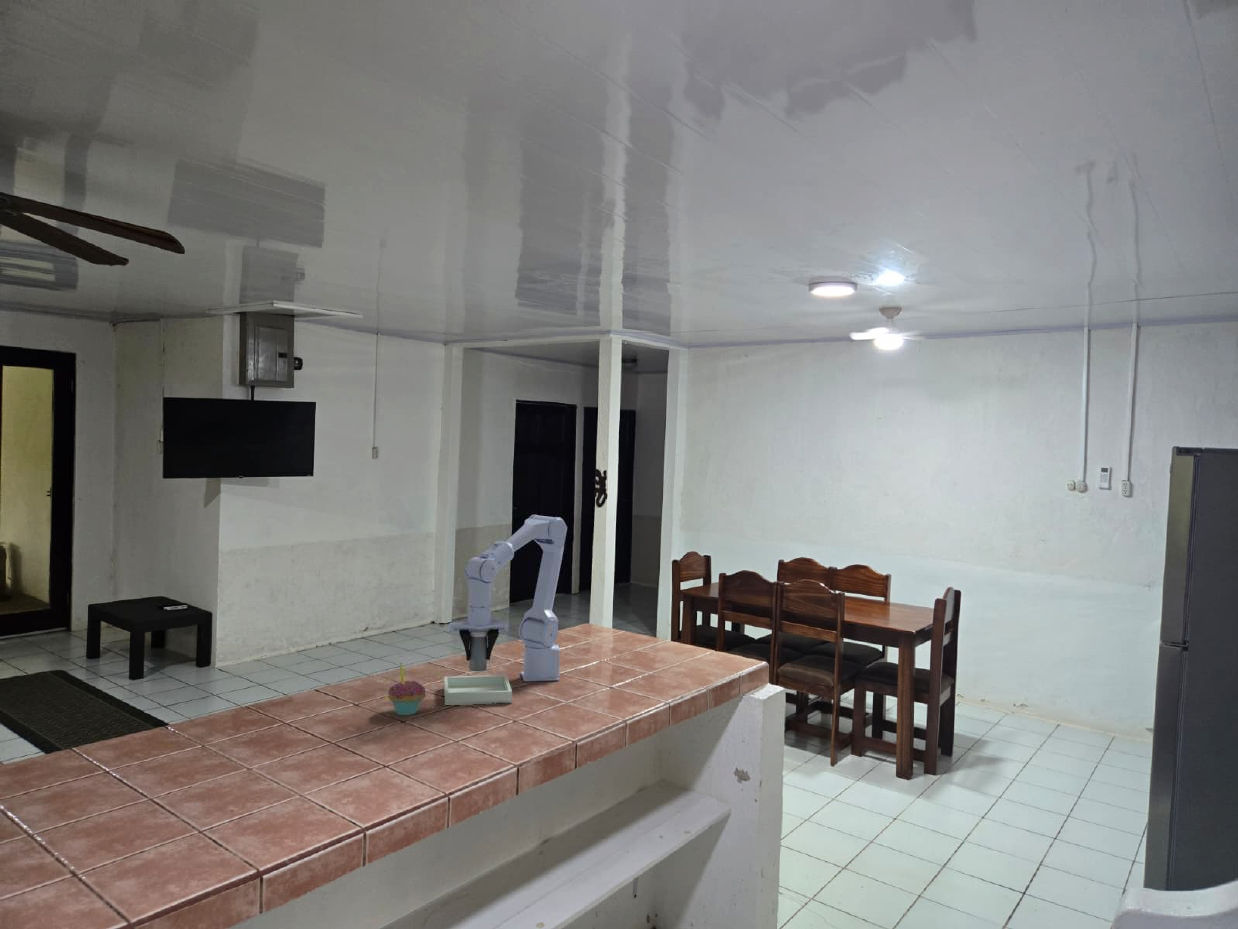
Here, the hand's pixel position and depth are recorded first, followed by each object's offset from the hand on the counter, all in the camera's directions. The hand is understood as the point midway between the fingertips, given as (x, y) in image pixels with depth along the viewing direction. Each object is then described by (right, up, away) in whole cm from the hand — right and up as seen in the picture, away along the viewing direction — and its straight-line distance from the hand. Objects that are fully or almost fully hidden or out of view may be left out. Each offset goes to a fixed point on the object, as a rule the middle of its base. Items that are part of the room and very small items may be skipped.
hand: (478, 659), depth 206 cm
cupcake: (-15, -9, -13) cm, 22 cm away
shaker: (0, -3, 0) cm, 3 cm away
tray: (0, -9, 0) cm, 9 cm away
